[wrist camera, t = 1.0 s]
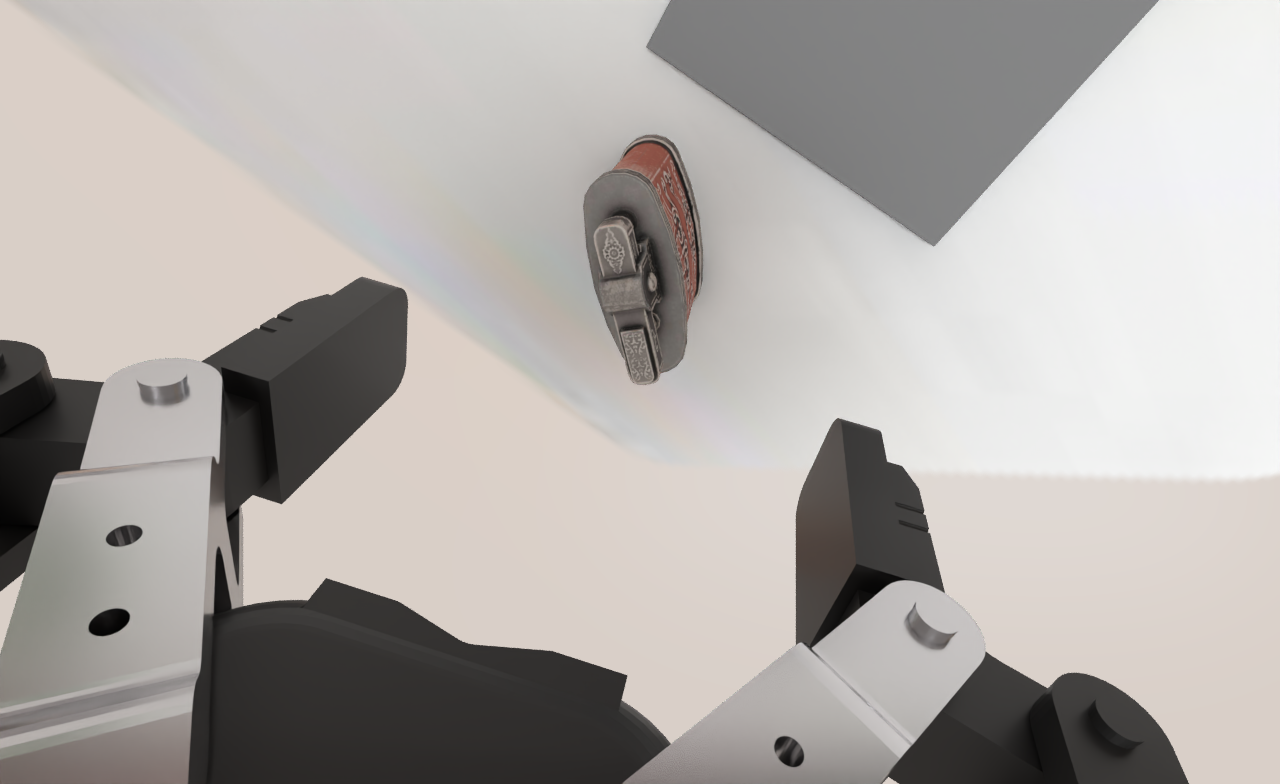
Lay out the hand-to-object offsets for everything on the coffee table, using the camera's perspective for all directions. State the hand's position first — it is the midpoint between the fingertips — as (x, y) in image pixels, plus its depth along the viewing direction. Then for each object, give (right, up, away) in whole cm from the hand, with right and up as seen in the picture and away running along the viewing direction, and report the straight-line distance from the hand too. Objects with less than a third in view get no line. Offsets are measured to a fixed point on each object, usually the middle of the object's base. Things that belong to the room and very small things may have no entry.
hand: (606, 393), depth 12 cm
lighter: (+2, +8, +19) cm, 21 cm away
